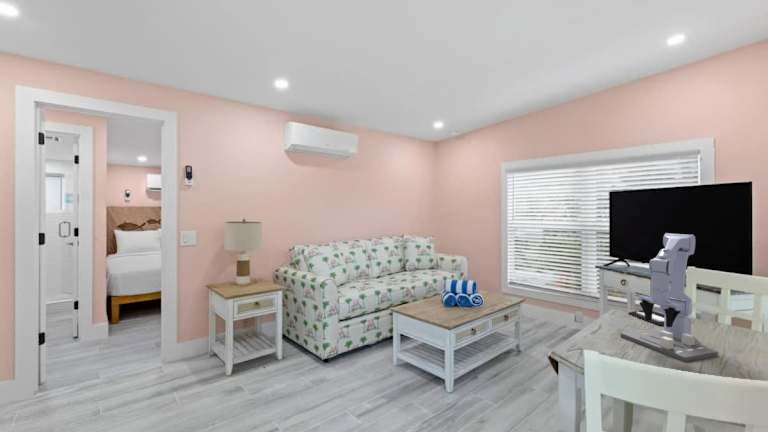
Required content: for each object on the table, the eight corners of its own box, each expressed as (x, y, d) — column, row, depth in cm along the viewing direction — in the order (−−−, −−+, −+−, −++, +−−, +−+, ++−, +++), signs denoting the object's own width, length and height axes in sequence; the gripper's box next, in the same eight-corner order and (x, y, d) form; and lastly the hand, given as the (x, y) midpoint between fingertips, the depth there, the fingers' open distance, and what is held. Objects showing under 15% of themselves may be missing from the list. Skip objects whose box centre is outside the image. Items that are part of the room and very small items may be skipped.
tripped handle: (664, 339, 138) (664, 330, 137) (672, 342, 135) (673, 333, 135) (659, 340, 137) (660, 331, 137) (668, 343, 134) (668, 334, 134)
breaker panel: (650, 332, 150) (651, 320, 150) (717, 355, 127) (718, 342, 127) (620, 336, 145) (621, 324, 144) (684, 361, 122) (685, 347, 121)
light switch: (624, 310, 176) (649, 307, 178) (625, 315, 176) (649, 312, 178) (659, 323, 157) (686, 320, 158) (660, 330, 157) (687, 326, 158)
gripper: (634, 285, 139) (632, 318, 139) (672, 294, 125) (671, 330, 125) (646, 284, 141) (645, 316, 141) (686, 293, 127) (684, 329, 127)
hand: (658, 323), depth 133 cm, fingers open, 7 cm apart
